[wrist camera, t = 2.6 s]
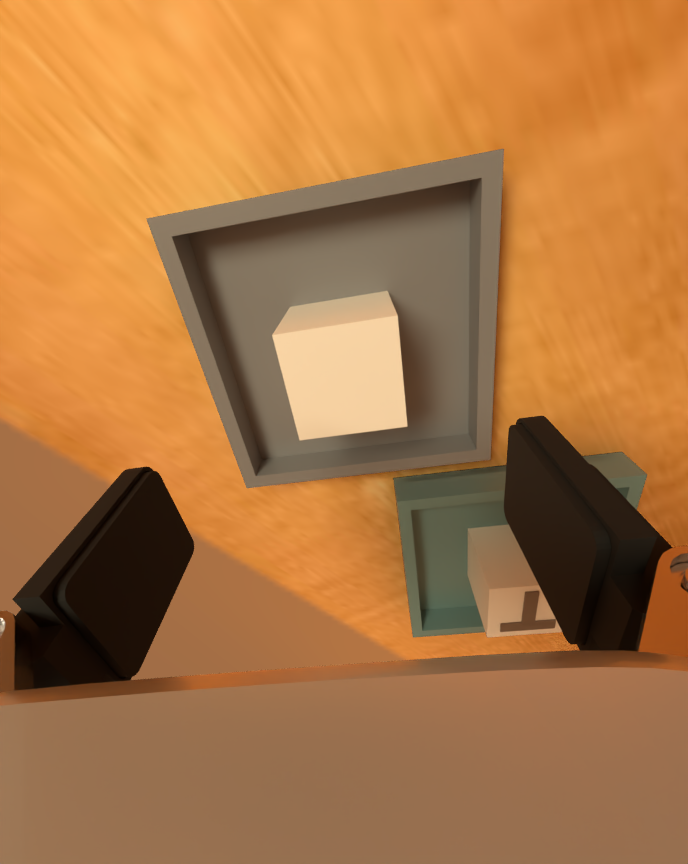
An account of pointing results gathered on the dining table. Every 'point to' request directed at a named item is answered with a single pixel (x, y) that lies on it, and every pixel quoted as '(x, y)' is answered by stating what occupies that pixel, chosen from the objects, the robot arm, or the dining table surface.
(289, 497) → the dining table surface
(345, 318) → the blank cube
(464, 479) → the teal tray
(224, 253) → the charcoal tray
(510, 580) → the letter cube
